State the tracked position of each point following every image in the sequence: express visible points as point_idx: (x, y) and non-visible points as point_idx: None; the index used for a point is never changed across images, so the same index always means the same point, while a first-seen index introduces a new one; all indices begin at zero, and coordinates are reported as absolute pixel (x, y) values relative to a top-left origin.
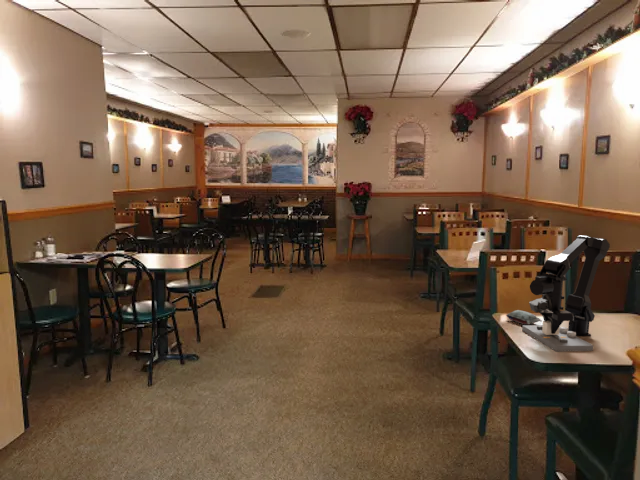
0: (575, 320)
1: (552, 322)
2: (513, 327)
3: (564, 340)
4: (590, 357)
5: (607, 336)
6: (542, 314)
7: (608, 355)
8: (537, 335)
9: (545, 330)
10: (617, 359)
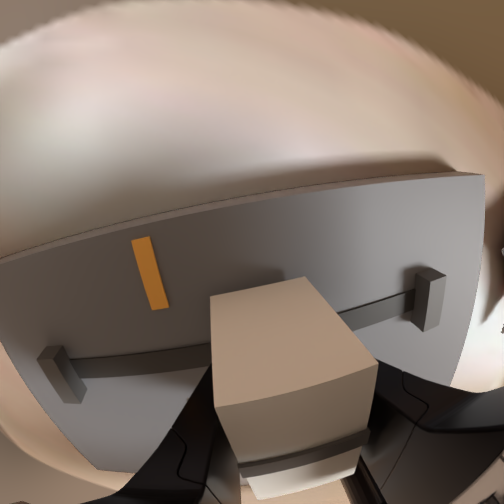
0: (380, 499)
1: (147, 476)
2: (487, 143)
3: (51, 380)
4: (7, 393)
5: (318, 498)
6: (481, 430)
7: (74, 460)
8: (249, 201)
9: (241, 313)
10: (47, 457)
